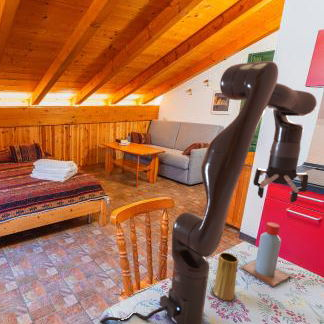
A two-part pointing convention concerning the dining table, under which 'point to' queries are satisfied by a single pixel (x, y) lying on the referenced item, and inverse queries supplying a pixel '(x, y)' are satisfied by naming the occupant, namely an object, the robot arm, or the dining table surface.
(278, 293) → the dining table surface
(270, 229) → the cap
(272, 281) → the coaster
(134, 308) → the dining table surface
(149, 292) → the dining table surface
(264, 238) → the bottle
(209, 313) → the dining table surface
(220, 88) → the robot arm
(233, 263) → the vase
